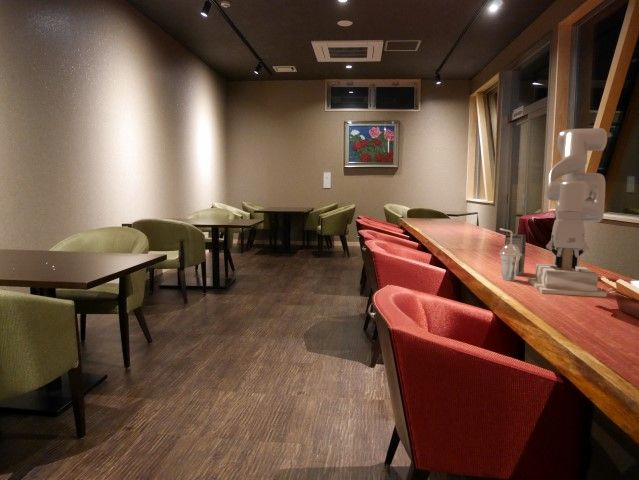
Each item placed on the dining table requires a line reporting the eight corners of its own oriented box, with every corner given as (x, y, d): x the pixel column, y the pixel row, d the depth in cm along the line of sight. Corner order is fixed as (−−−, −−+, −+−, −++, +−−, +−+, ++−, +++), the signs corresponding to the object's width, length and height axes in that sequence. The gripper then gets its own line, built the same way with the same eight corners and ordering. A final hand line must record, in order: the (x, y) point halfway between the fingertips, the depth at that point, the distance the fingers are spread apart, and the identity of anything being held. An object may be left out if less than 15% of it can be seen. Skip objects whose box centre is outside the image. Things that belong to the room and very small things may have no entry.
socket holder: (527, 281, 186) (528, 262, 186) (584, 284, 182) (585, 265, 182) (541, 293, 165) (543, 272, 164) (606, 297, 161) (608, 275, 160)
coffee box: (508, 270, 209) (510, 233, 207) (524, 272, 205) (526, 234, 203) (502, 273, 202) (505, 235, 200) (518, 275, 198) (521, 236, 196)
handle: (575, 281, 170) (578, 238, 168) (555, 279, 173) (558, 237, 171) (574, 278, 174) (577, 237, 173) (554, 277, 177) (557, 236, 175)
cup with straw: (521, 282, 183) (524, 229, 181) (495, 280, 186) (498, 228, 184) (519, 278, 191) (523, 227, 189) (495, 276, 194) (498, 226, 192)
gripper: (591, 216, 173) (587, 267, 175) (541, 215, 176) (538, 264, 178) (599, 217, 166) (595, 270, 168) (547, 216, 169) (543, 268, 171)
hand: (565, 267), depth 173 cm, fingers closed on handle, 4 cm apart
